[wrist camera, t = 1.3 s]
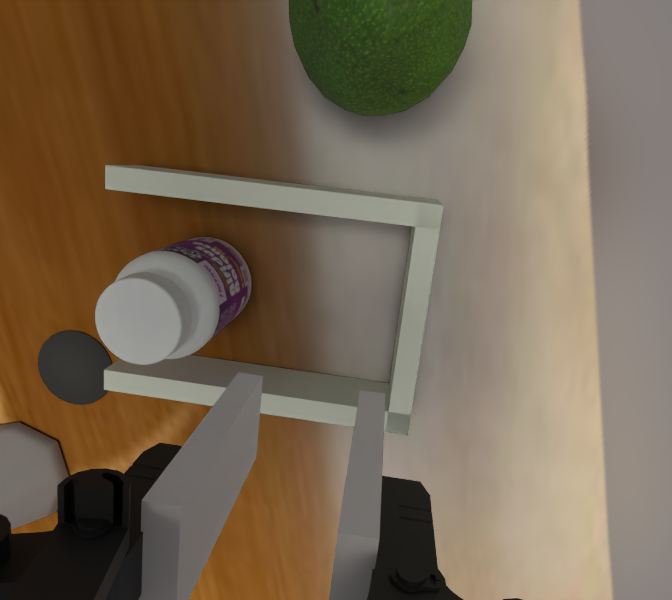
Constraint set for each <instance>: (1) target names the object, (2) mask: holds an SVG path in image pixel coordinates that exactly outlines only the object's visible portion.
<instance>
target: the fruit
mask: <svg viewBox="0 0 672 600" xmlns="http://www.w3.org/2000/svg"><path fill="white" fill-rule="evenodd" d="M471 18H472V0H289V19H290V26H291V31H292V36H293V41H294V46H295V49H296V51H297V53H298V55H299V57H300V60H301V62H302V64H303V66H304V69H305V71H306V73H307V75H308V77H309V78H310V80H311V81H312V82H313V83H314V84H315V86H316V87H317V88H318V89H319V91H320V92H321V93H322V94H323V95H324V97H325V98H327V99H329V100H330V101H332V102H333V103H335V104H336V105H338V106H340V107H341V108H343V109H344V110H347V111H350V112H353V113H356V114H359V115H362V116H384V115H388V114H392V113H396V112H400V111H404V110H406V109H408V108H410V107H412V106H413V105H415V104H417V103H418V102H420V101H422V100H423V99H425V98H427V97H429V96H430V95H431V93H432V92H433V91H434V90H435V89H436V88H437V87H438V86H439V85H440V84H441V82H442V81H443V80H444V79H445V78H446V77H447V76H448V75H449V74H450V73H451V71H452V70H453V68H454V66H455V64H456V62H457V60H458V58H459V56H460V54H461V53H462V51H463V49H464V46H465V43H466V40H467V37H468V34H469V30H470V27H471Z"/></svg>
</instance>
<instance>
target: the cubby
mask: <svg viewBox="0 0 672 600" xmlns="http://www.w3.org/2000/svg"><path fill="white" fill-rule="evenodd" d="M105 189H109V190H117V191H126V192H134V193H142V194H150V195H158V196H167V197H175V198H183V199H191V200H200V201H208V202H216V203H224V204H232V205H241V206H249V207H257V208H265V209H273V210H282V211H290V212H298V213H306V214H315V215H323V216H331V217H339V218H347V219H356V220H364V221H372V222H380V223H388V224H397V225H405V226H412V229H411V236H410V243H409V250H408V257H407V264H406V271H405V278H404V285H403V292H402V299H401V306H400V313H399V320H398V327H397V334H396V340H395V347H394V354H393V361H392V368H391V375H390V382H389V383H383V382H376V381H369V380H362V379H355V378H348V377H341V376H334V375H327V374H320V373H313V372H306V371H299V370H292V369H285V368H278V367H271V366H264V365H257V364H250V363H243V362H236V361H229V360H222V359H215V358H208V357H201V356H194V355H188V356H185V357H182V358H177V359H164V360H162V361H159V362H157V363H153V364H148V365H139V364H133V363H129V362H127V361H124V360H122V359H119V360H117V361H116V362H115V363H113V364H112V365H110V366H109V367H107V368H106V369H105V370H104V390H109V391H116V392H123V393H129V394H136V395H143V396H149V397H156V398H163V399H169V400H176V401H183V402H189V403H196V404H203V405H209V406H213V405H214V404H215V403H216V401H217V400H218V399H219V397H220V396H221V395H222V393H223V392H224V391H225V390H226V388H227V387H228V386H229V384H230V383H231V382H232V380H233V379H234V378H235V376H236V375H237V374H238V372H239V373H246V374H253V375H259V376H263V383H262V395H261V407H260V413H263V414H270V415H276V416H283V417H290V418H296V419H303V420H310V421H316V422H323V423H330V424H336V425H343V426H350V427H354V425H355V419H356V412H357V406H358V400H359V393H360V390H363V391H370V392H377V393H384V394H385V417H384V432H390V433H396V434H403V435H408V430H409V423H410V417H411V411H412V404H413V398H414V392H415V385H416V379H417V373H418V366H419V360H420V353H421V347H422V341H423V334H424V328H425V322H426V315H427V309H428V302H429V296H430V290H431V283H432V277H433V271H434V264H435V258H436V251H437V245H438V239H439V232H440V226H441V220H442V213H443V207H444V205H443V204H442V203H440V202H439V201H438V200H431V199H423V198H414V197H406V196H397V195H389V194H380V193H372V192H363V191H355V190H346V189H338V188H329V187H321V186H312V185H304V184H295V183H287V182H278V181H270V180H261V179H253V178H245V177H236V176H228V175H219V174H211V173H202V172H194V171H185V170H177V169H168V168H160V167H151V166H143V165H105Z"/></svg>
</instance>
